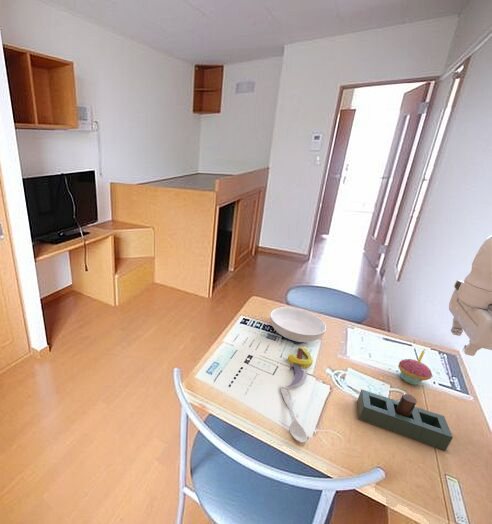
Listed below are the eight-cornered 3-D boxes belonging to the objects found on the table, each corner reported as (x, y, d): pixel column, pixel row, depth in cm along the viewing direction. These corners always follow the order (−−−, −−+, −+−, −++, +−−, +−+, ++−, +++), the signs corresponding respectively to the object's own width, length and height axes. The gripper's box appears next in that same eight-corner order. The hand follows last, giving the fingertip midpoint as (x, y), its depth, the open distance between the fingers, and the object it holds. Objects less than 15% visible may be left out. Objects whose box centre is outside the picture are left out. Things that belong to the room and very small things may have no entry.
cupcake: (398, 367, 109) (409, 340, 105) (429, 381, 103) (442, 352, 99) (391, 378, 104) (403, 350, 100) (423, 393, 98) (437, 364, 94)
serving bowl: (327, 354, 116) (332, 339, 113) (269, 343, 122) (272, 328, 119) (316, 324, 134) (320, 311, 131) (266, 316, 140) (268, 303, 137)
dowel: (403, 422, 88) (415, 396, 84) (405, 430, 85) (418, 404, 82) (389, 417, 90) (401, 391, 86) (391, 425, 87) (403, 399, 83)
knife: (305, 397, 96) (313, 354, 116) (306, 391, 95) (315, 348, 115) (278, 387, 100) (291, 346, 119) (280, 380, 99) (292, 341, 118)
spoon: (292, 445, 81) (293, 440, 81) (276, 387, 100) (277, 383, 99) (309, 448, 80) (310, 443, 80) (289, 389, 99) (290, 385, 99)
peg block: (437, 428, 86) (444, 415, 84) (445, 450, 80) (453, 437, 78) (356, 401, 95) (361, 389, 93) (358, 419, 89) (363, 406, 87)
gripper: (525, 320, 64) (495, 372, 69) (485, 283, 80) (463, 327, 85) (484, 312, 67) (458, 362, 72) (453, 278, 83) (434, 321, 88)
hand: (461, 343), depth 79 cm, fingers open, 8 cm apart
